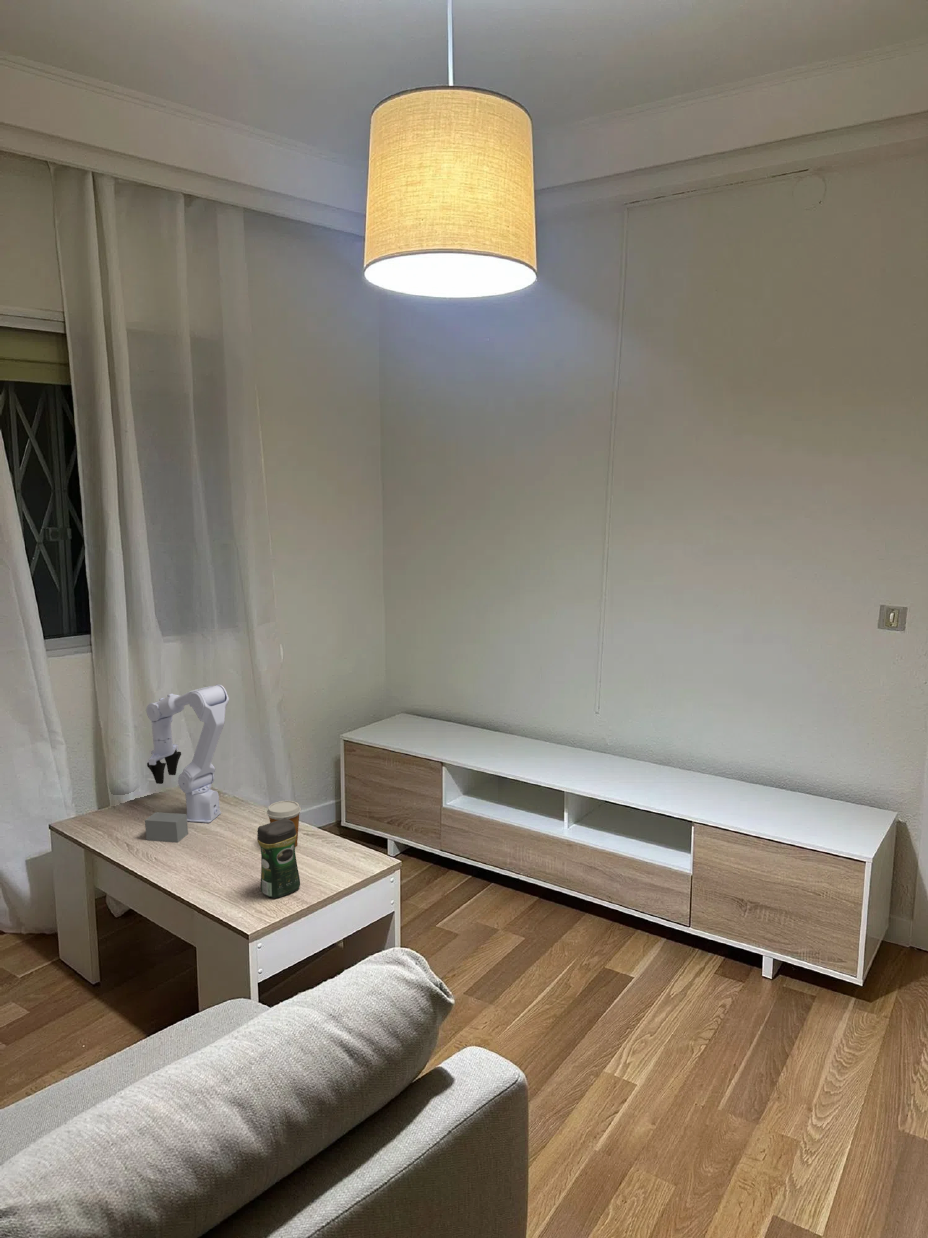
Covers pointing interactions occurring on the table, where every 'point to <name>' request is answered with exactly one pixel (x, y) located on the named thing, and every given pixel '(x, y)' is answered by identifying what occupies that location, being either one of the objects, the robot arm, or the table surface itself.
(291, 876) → the coffee jar
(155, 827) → the grey rectangular box
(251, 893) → the table surface
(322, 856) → the table surface
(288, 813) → the disposable coffee cup
